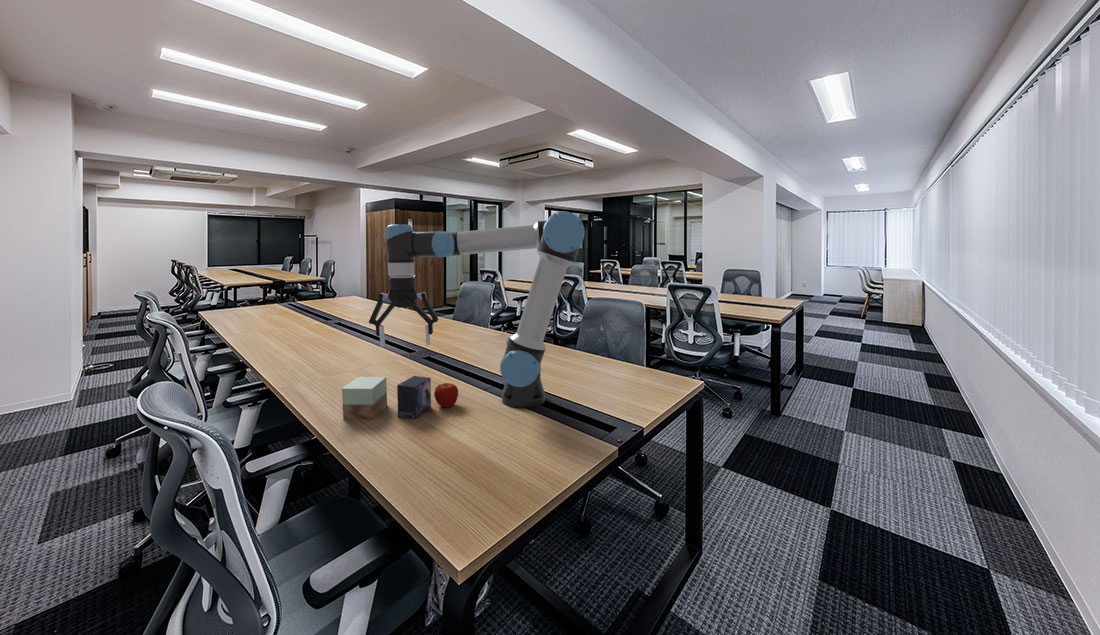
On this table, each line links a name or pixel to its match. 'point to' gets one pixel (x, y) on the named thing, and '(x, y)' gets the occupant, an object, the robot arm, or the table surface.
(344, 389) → the tower top
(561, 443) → the table surface
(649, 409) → the table surface
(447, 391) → the apple
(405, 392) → the small box
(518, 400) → the robot arm
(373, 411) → the tower base
